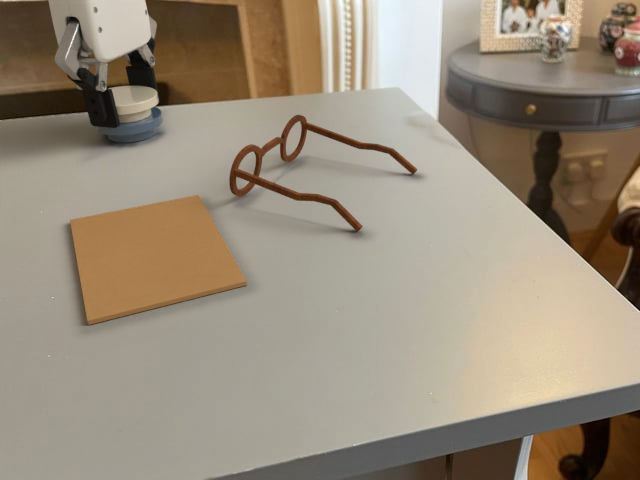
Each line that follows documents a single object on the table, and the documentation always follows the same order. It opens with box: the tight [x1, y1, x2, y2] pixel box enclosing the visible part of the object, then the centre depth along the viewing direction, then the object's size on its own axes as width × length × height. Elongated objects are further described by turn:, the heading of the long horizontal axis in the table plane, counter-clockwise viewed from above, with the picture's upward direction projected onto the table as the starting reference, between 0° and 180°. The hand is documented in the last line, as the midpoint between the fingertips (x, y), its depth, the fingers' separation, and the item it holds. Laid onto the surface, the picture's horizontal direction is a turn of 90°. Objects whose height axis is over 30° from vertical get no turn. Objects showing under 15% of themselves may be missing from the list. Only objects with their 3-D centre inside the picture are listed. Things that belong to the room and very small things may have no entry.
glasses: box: [228, 114, 418, 233], centre depth 60 cm, size 13×13×5 cm
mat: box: [69, 194, 248, 326], centre depth 52 cm, size 16×11×1 cm
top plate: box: [107, 85, 160, 123], centre depth 72 cm, size 7×7×2 cm
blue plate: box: [94, 106, 164, 144], centre depth 73 cm, size 7×7×2 cm
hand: (126, 112), depth 72 cm, fingers closed on top plate, 7 cm apart
